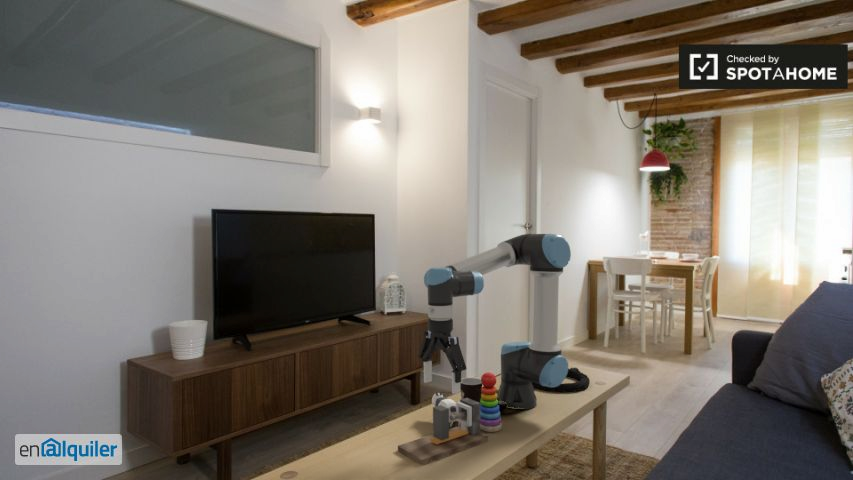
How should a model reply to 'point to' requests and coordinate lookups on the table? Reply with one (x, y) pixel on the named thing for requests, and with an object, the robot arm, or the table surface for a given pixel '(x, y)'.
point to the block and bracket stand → (442, 423)
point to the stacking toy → (489, 405)
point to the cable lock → (568, 386)
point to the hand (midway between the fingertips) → (441, 387)
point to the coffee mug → (471, 388)
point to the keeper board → (429, 451)
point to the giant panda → (445, 405)
